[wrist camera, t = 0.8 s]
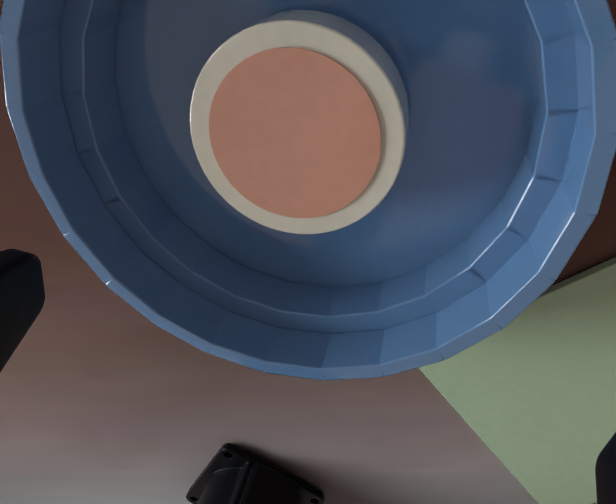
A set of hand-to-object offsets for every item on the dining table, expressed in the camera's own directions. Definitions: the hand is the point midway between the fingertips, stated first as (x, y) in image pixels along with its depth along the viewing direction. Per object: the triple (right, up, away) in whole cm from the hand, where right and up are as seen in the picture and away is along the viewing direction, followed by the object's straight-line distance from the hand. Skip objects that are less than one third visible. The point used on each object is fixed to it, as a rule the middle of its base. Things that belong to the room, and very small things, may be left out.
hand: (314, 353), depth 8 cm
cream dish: (0, +6, +11) cm, 12 cm away
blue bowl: (0, +7, +11) cm, 13 cm away
